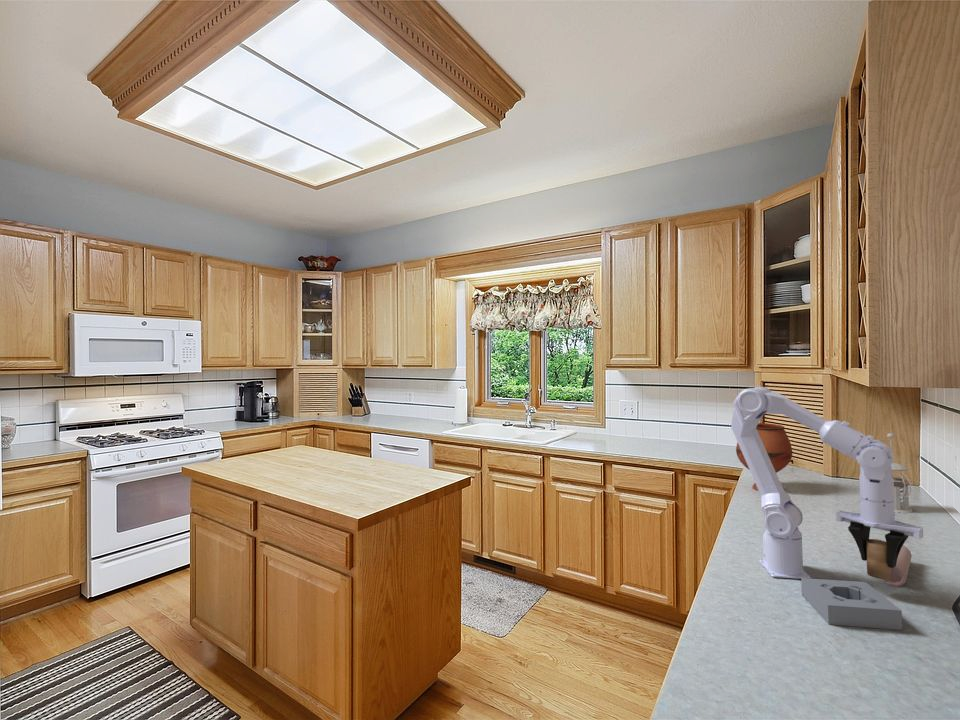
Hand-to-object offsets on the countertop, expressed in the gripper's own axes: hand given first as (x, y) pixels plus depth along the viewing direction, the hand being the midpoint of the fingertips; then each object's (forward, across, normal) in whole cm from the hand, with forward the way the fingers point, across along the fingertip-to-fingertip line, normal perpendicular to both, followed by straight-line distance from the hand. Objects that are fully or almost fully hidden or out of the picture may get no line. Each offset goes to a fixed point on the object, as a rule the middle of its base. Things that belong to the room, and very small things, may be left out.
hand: (878, 562), depth 104 cm
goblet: (+7, -59, +68) cm, 90 cm away
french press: (+7, -20, +74) cm, 77 cm away
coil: (+7, -2, +16) cm, 17 cm away
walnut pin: (+3, 0, 0) cm, 3 cm away
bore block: (+7, -1, -13) cm, 15 cm away
